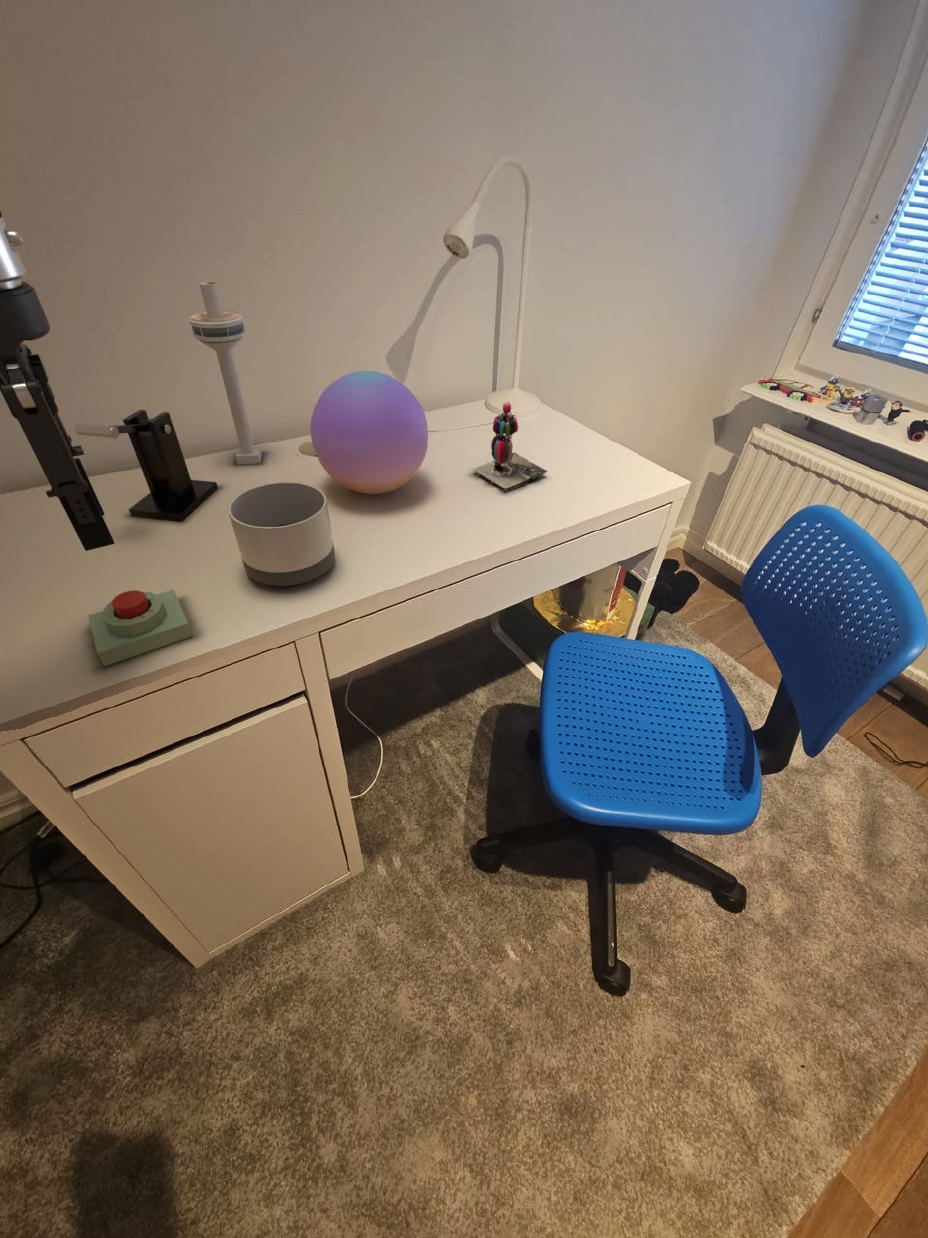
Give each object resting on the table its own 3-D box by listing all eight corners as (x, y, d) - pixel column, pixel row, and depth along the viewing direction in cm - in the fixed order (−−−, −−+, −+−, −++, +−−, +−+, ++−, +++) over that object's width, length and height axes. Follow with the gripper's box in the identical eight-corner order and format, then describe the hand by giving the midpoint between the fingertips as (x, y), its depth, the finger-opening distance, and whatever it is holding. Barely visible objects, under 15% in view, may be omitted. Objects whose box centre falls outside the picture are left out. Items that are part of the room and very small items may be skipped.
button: (119, 623, 64) (114, 612, 63) (114, 607, 66) (109, 596, 65) (152, 613, 65) (147, 602, 64) (146, 597, 68) (141, 586, 67)
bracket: (181, 521, 88) (150, 433, 79) (131, 515, 89) (93, 427, 80) (218, 488, 97) (193, 405, 88) (171, 483, 98) (142, 400, 89)
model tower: (230, 451, 109) (184, 278, 89) (273, 449, 110) (237, 278, 91) (224, 469, 103) (174, 288, 83) (270, 467, 104) (231, 288, 85)
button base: (104, 666, 63) (90, 641, 61) (95, 628, 68) (81, 603, 66) (193, 636, 68) (183, 611, 65) (178, 602, 73) (169, 578, 70)
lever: (112, 442, 74) (109, 423, 73) (76, 438, 75) (72, 420, 74) (173, 436, 86) (171, 420, 85) (141, 433, 87) (139, 417, 86)
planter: (244, 550, 83) (227, 487, 76) (329, 537, 86) (319, 476, 79) (248, 600, 73) (228, 534, 67) (342, 584, 77) (333, 520, 70)
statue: (505, 498, 100) (505, 421, 90) (473, 478, 106) (469, 403, 95) (547, 476, 105) (552, 400, 94) (514, 458, 110) (515, 384, 99)
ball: (451, 488, 100) (453, 375, 87) (368, 527, 89) (356, 404, 76) (380, 455, 110) (372, 349, 97) (297, 487, 98) (275, 371, 85)
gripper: (39, 302, 39) (150, 563, 54) (24, 263, 51) (118, 486, 66) (-94, 311, 36) (64, 587, 51) (-77, 267, 48) (47, 502, 63)
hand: (95, 530), depth 58 cm, fingers open, 6 cm apart
